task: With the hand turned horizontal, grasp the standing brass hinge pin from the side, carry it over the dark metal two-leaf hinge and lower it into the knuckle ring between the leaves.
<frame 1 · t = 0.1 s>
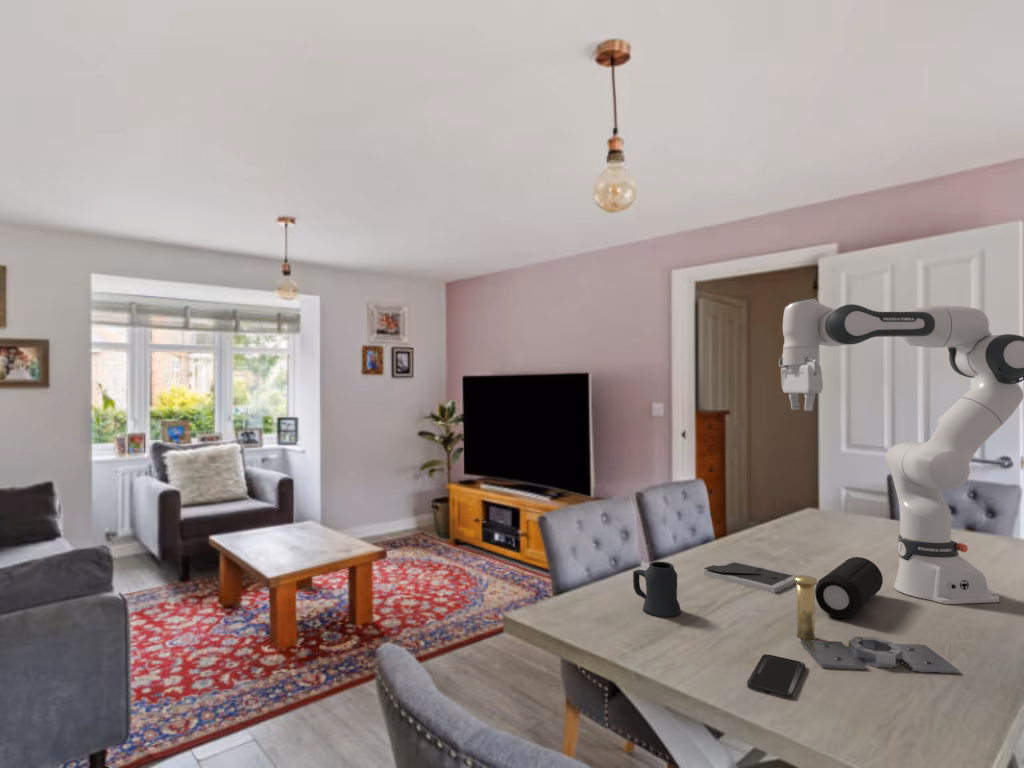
hand: (801, 410, 162), 48 cm above the table, tool pointing down, fingers open, 8 cm apart
pin: (805, 637, 130), on the table
picture frame: (751, 581, 171), on the table
portable speaker: (850, 606, 149), on the table
phone: (776, 679, 112), on the table
hinge body: (875, 657, 120), on the table
mug: (656, 610, 147), on the table
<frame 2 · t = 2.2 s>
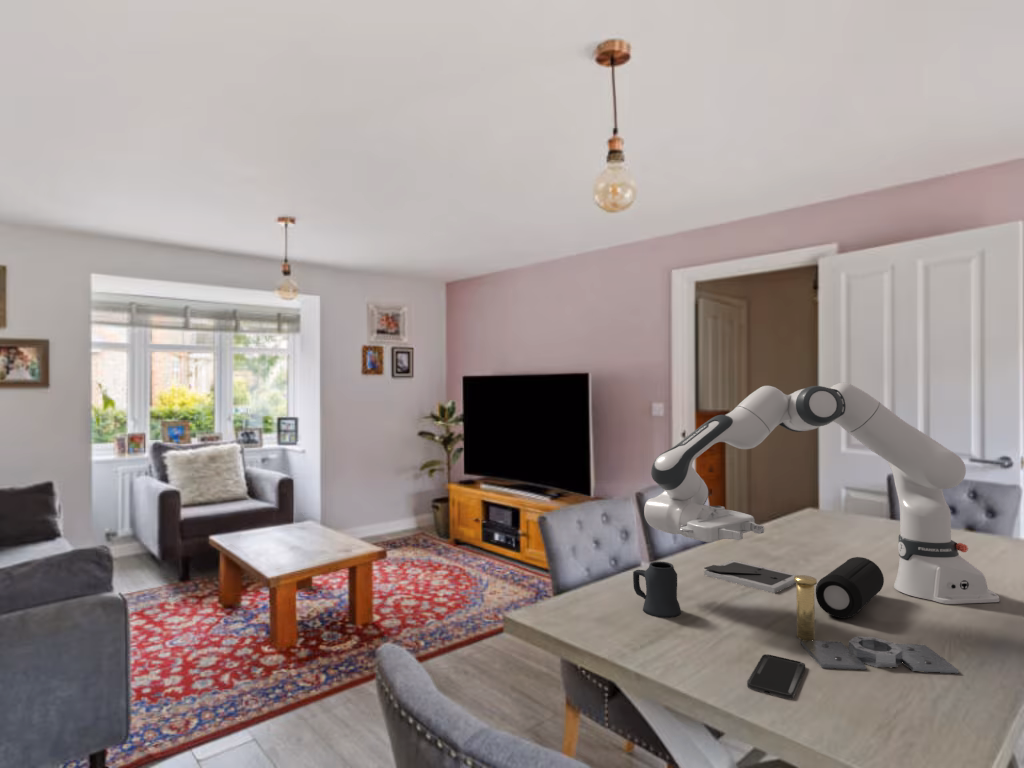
hand: (752, 533, 140), 20 cm above the table, tool horizontal, fingers open, 8 cm apart
nothing on the table moved.
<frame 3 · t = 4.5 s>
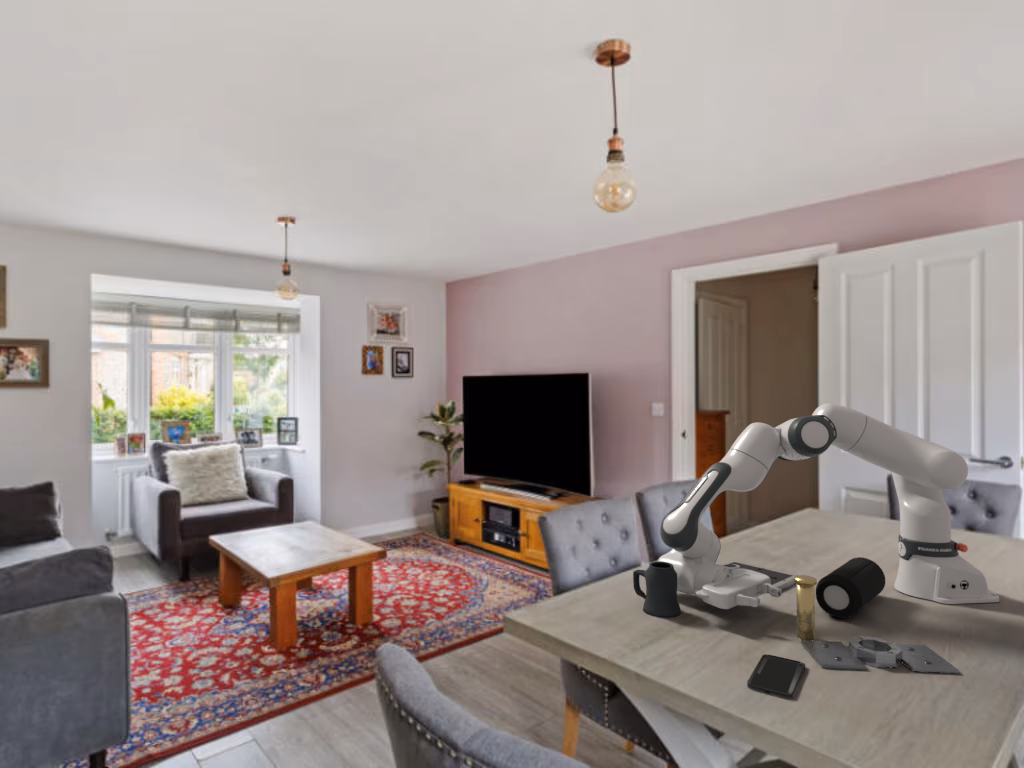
hand: (769, 598, 137), 6 cm above the table, tool horizontal, fingers open, 8 cm apart
nothing on the table moved.
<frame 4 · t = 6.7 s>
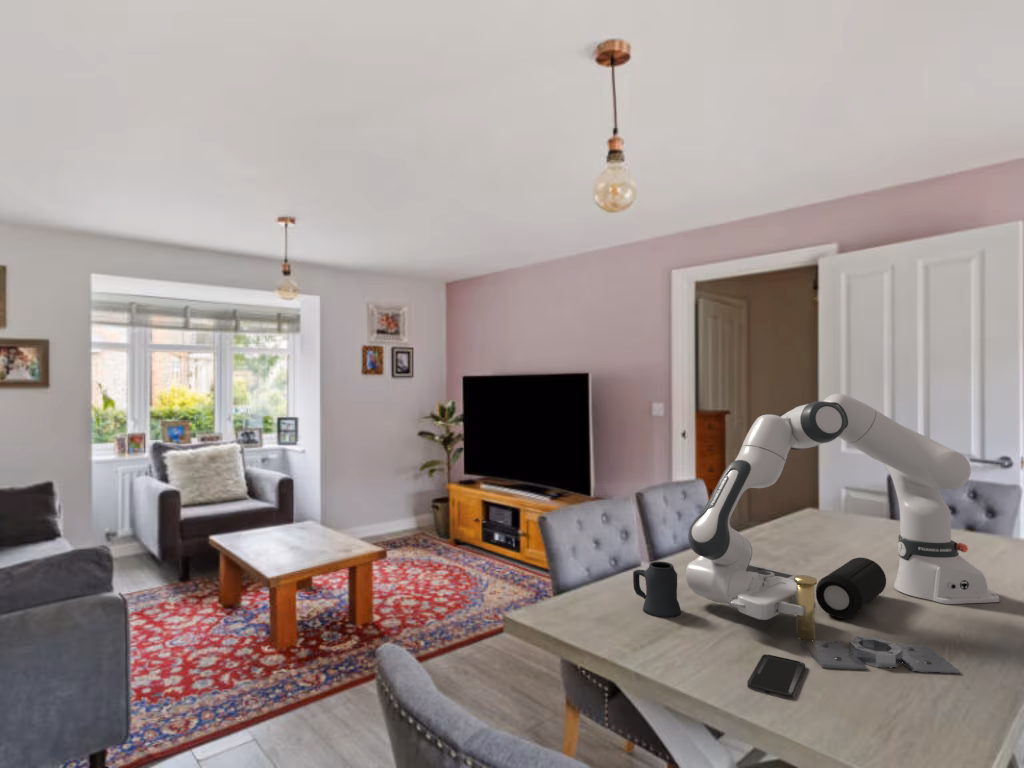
hand: (809, 608, 129), 7 cm above the table, tool horizontal, fingers closed on pin, 3 cm apart
pin: (805, 637, 130), on the table, touching gripper
everything else where it was.
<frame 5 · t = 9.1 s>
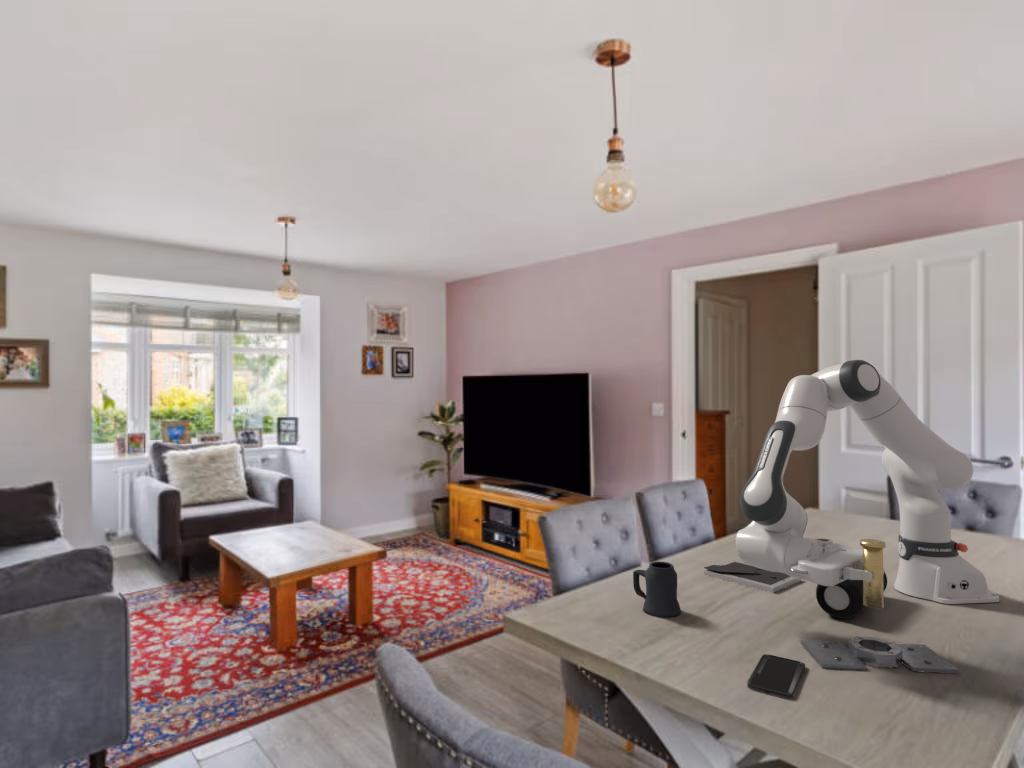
hand: (877, 574, 120), 17 cm above the table, tool horizontal, fingers closed on pin, 3 cm apart
pin: (873, 605, 120), point 10 cm above the table, touching gripper
everything else where it was.
when the fingers open (8 cm above the table, at t = 11.6 s): pin drops 1 cm, resting in hinge body.
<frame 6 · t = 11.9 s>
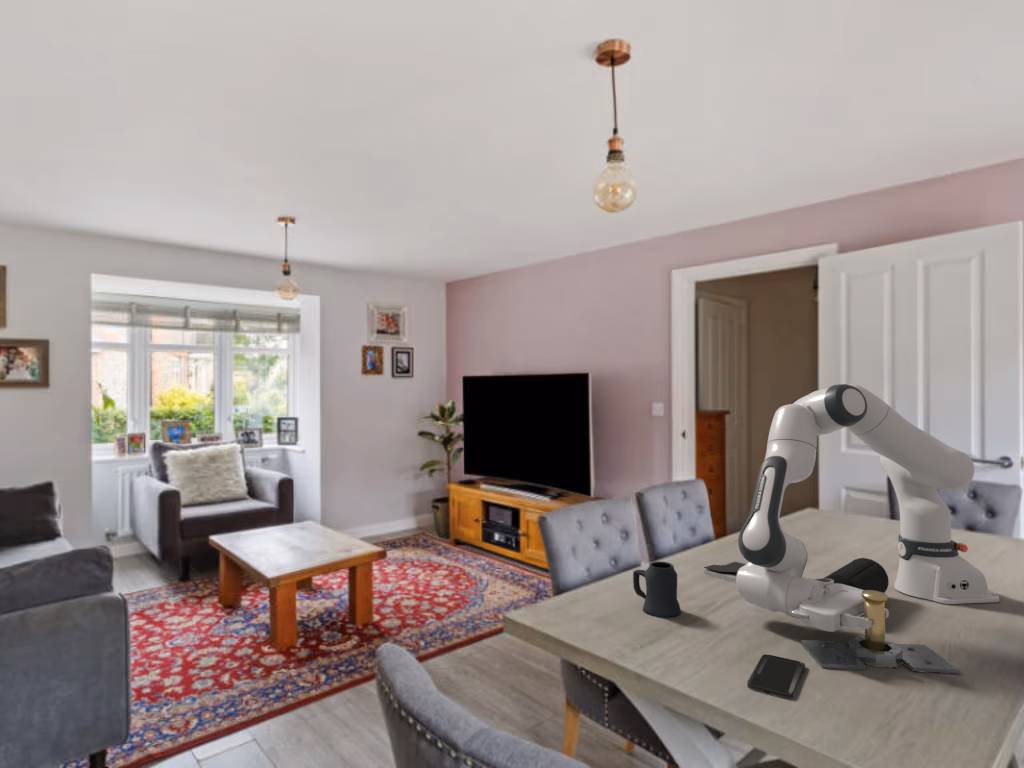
hand: (879, 619, 119), 8 cm above the table, tool horizontal, fingers open, 7 cm apart
pin: (875, 657, 120), resting in hinge body
everything else where it was.
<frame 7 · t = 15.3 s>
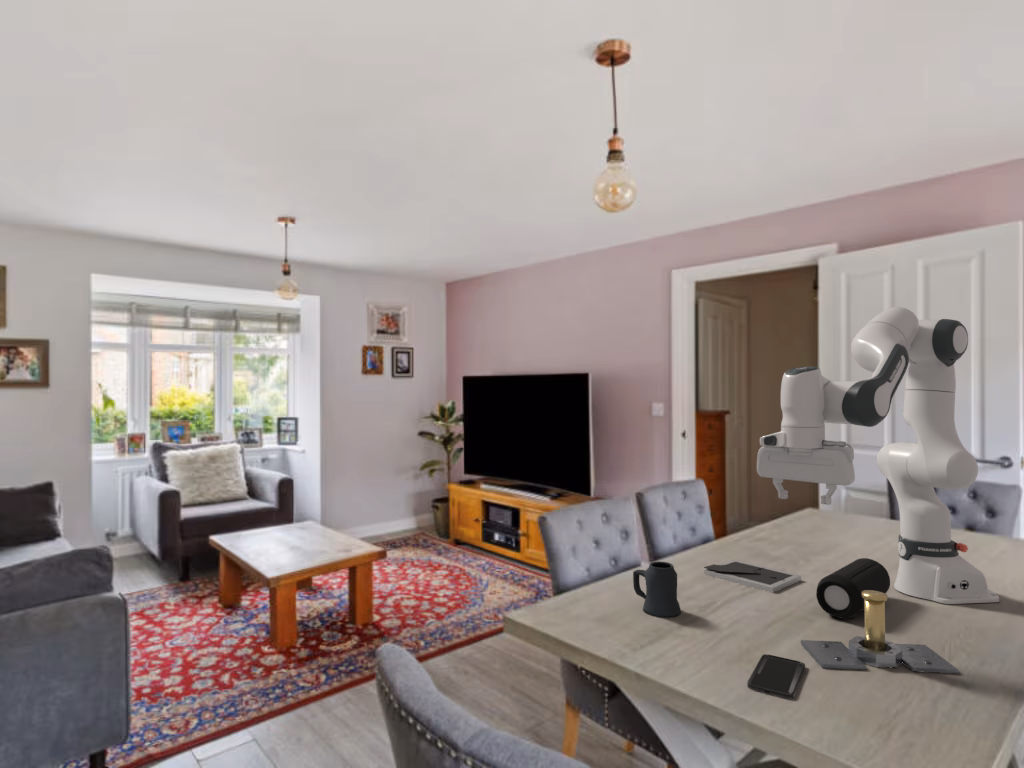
hand: (804, 501, 134), 29 cm above the table, tool pointing down, fingers open, 8 cm apart
nothing on the table moved.
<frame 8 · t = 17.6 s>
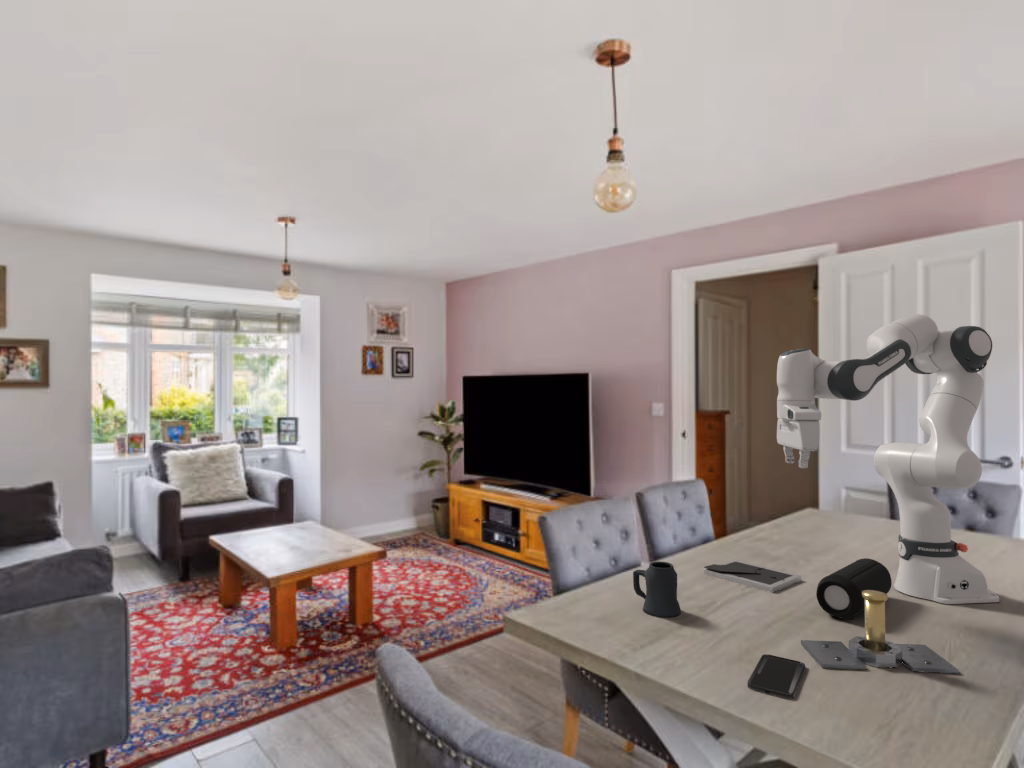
hand: (796, 465, 154), 34 cm above the table, tool pointing down, fingers open, 8 cm apart
at the end: pin 0.0 cm off-centre on the hinge body, point 0.0 cm above the hinge body's base; pin tilted 1°; the gripper is holding nothing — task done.
